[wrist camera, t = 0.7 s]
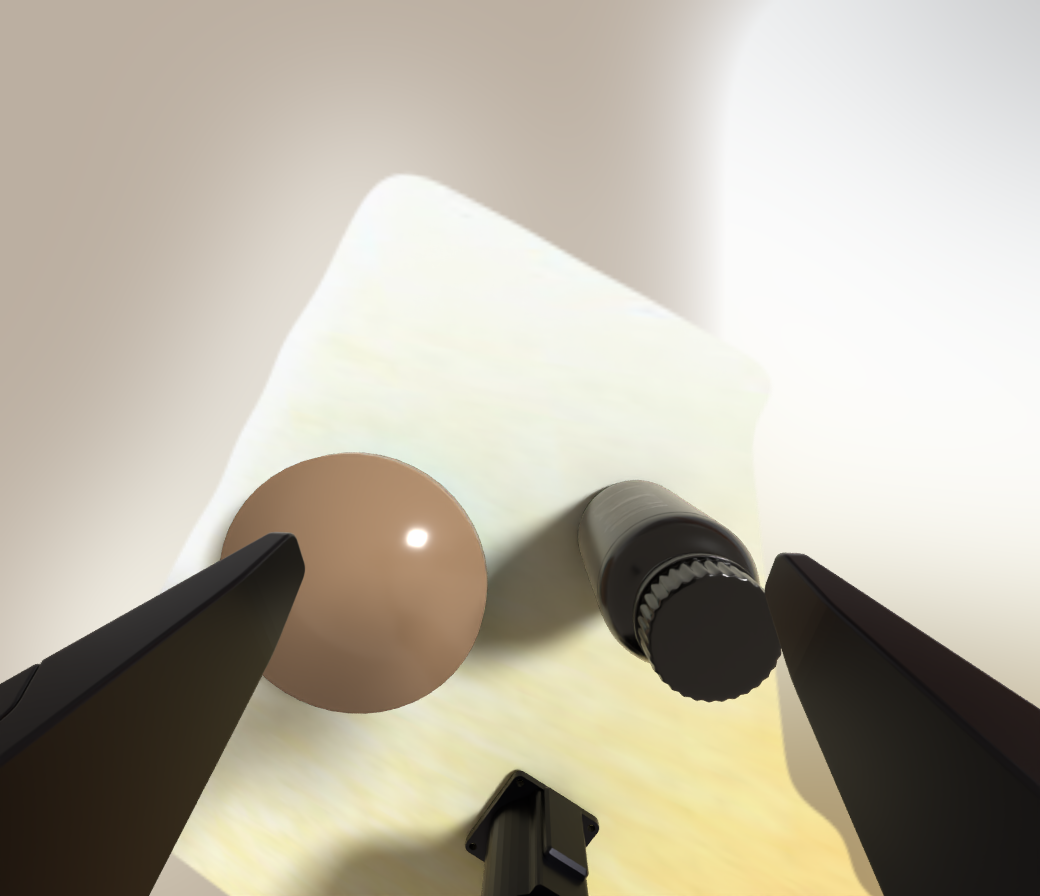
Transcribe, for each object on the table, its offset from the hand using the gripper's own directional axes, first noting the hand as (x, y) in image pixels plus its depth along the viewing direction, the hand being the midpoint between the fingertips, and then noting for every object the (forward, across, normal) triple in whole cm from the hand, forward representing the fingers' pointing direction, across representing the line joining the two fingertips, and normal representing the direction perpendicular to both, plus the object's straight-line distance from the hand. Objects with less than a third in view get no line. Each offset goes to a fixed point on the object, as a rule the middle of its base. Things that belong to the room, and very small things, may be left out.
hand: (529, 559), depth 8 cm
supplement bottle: (+15, -6, +12) cm, 20 cm away
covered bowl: (+14, +10, +14) cm, 22 cm away
